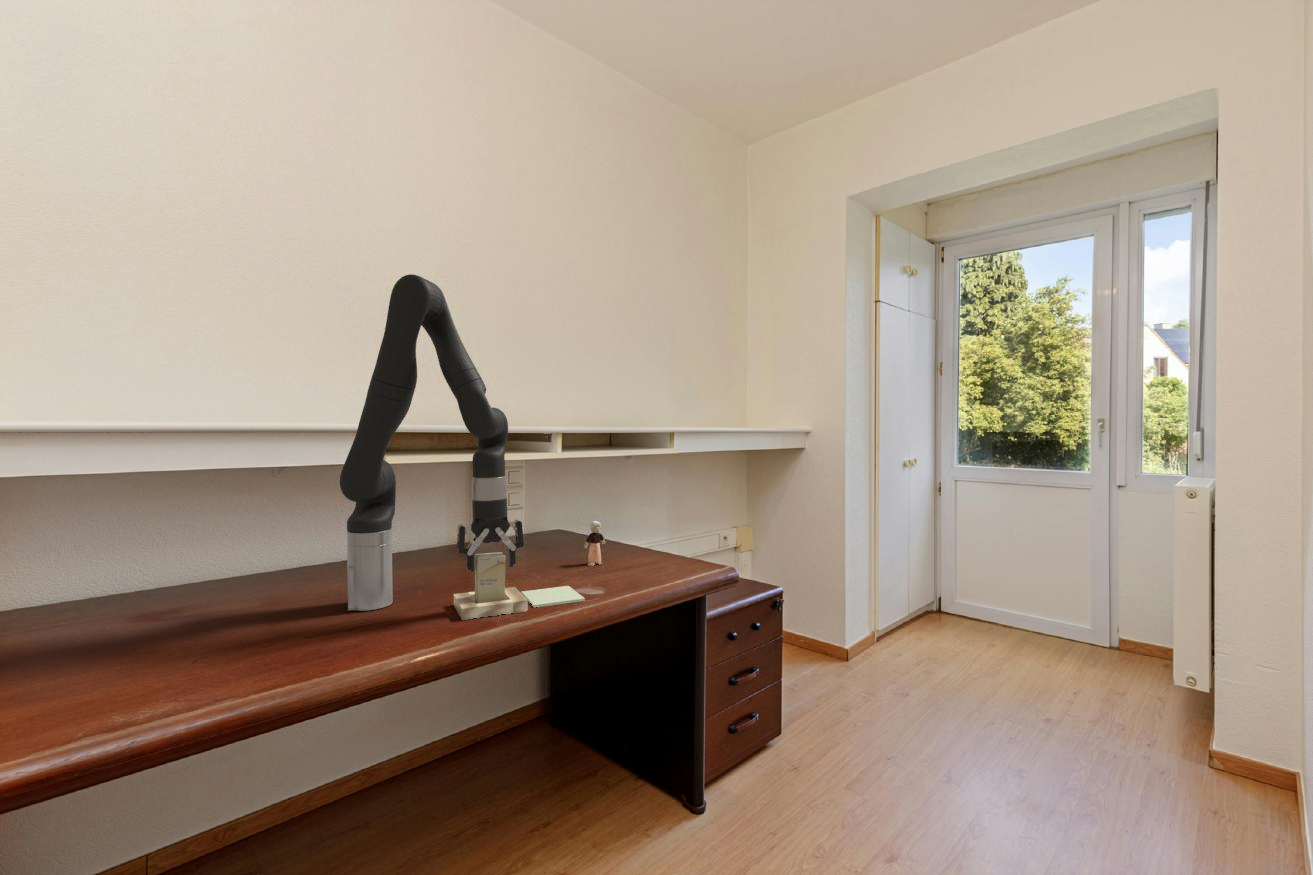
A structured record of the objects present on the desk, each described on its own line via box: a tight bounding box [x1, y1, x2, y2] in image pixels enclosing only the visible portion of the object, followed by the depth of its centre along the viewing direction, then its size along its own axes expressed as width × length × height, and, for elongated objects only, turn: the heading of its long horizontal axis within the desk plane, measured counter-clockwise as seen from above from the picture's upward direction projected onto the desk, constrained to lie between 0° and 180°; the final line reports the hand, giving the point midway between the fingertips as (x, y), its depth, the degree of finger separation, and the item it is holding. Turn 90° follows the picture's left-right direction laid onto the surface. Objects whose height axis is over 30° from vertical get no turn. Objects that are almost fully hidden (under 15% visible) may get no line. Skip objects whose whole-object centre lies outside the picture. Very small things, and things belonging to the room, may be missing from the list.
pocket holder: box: [453, 586, 529, 621], centre depth 140 cm, size 14×12×2 cm
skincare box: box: [474, 551, 506, 604], centre depth 139 cm, size 6×4×12 cm
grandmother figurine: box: [583, 520, 606, 567], centre depth 181 cm, size 8×4×13 cm, turn 148°
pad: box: [520, 585, 586, 609], centre depth 148 cm, size 12×12×1 cm
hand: (491, 569), depth 139 cm, fingers open, 8 cm apart
